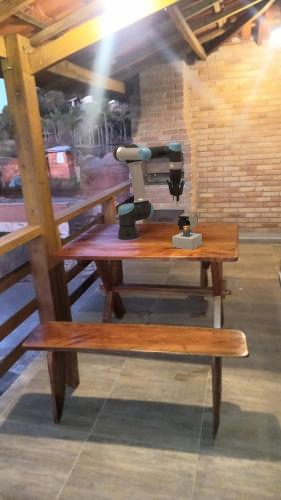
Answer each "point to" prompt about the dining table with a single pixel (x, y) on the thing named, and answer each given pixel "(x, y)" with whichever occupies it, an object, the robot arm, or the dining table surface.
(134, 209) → the robot arm
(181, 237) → the block
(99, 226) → the dining table surface
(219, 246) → the dining table surface
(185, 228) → the steel pin
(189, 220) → the ball valve
